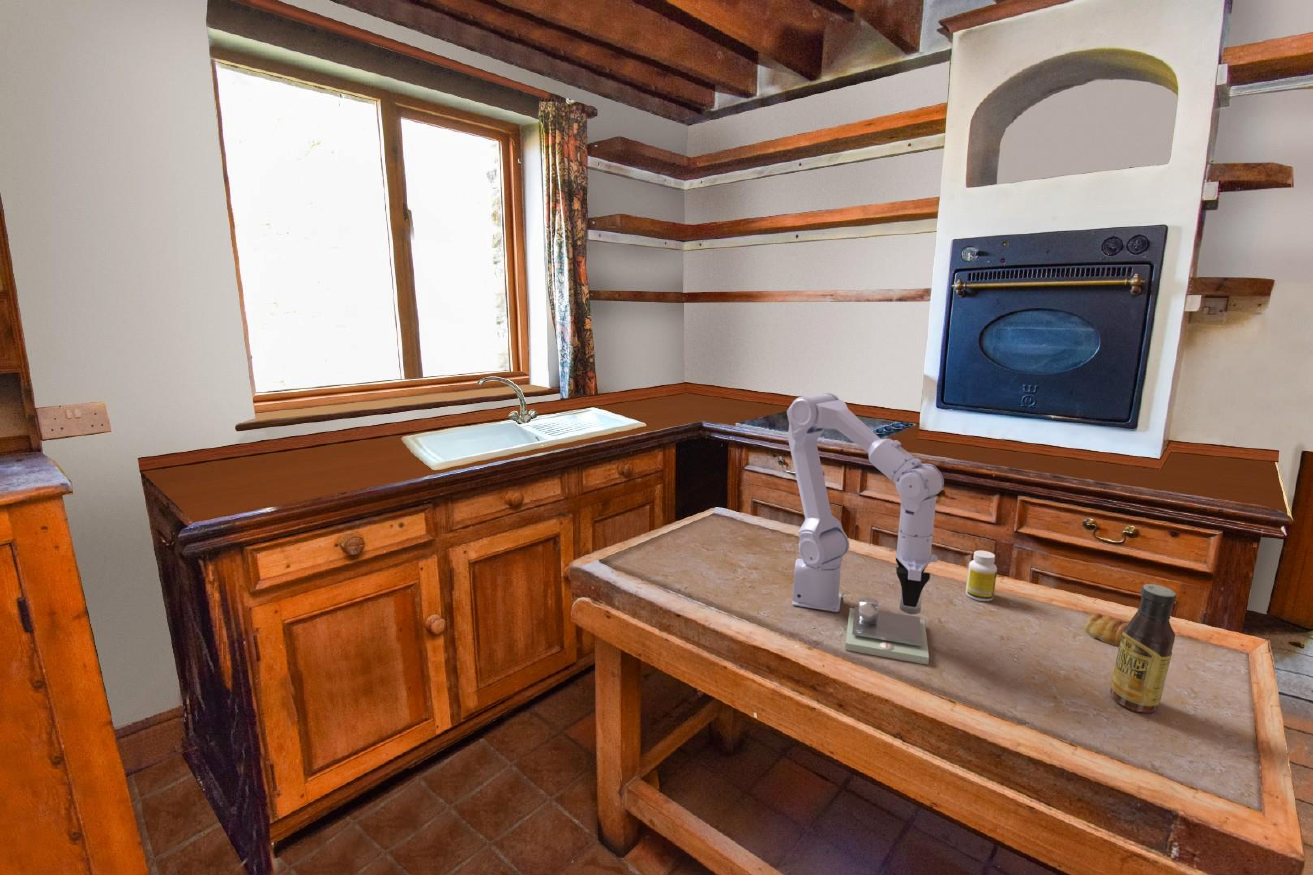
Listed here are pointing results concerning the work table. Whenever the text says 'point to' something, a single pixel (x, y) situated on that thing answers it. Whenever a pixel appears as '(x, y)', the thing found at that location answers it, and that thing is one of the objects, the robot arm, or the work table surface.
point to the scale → (887, 645)
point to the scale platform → (891, 628)
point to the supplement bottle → (981, 576)
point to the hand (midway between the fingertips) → (909, 600)
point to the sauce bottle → (1145, 652)
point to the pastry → (1105, 628)
